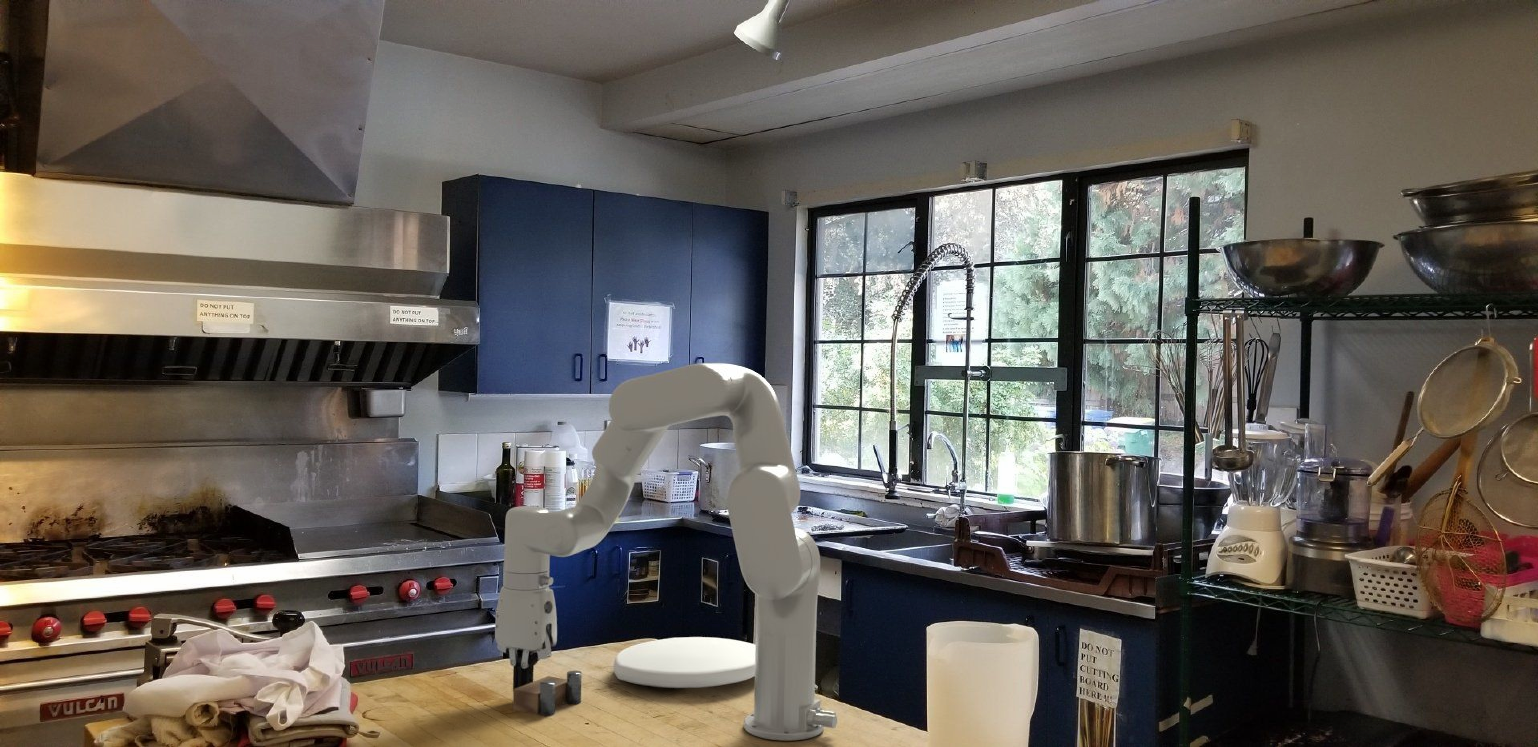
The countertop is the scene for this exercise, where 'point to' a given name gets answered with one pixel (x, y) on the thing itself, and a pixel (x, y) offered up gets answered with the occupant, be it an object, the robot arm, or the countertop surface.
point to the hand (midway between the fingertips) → (522, 688)
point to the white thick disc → (686, 662)
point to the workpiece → (537, 695)
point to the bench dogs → (549, 693)
